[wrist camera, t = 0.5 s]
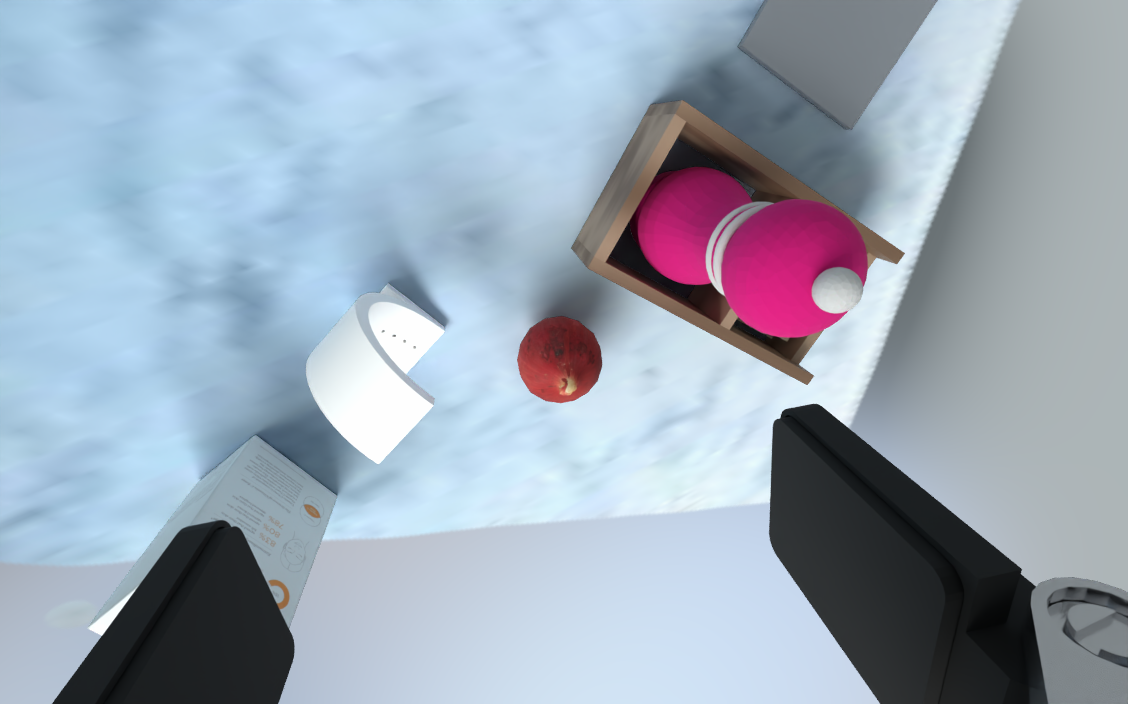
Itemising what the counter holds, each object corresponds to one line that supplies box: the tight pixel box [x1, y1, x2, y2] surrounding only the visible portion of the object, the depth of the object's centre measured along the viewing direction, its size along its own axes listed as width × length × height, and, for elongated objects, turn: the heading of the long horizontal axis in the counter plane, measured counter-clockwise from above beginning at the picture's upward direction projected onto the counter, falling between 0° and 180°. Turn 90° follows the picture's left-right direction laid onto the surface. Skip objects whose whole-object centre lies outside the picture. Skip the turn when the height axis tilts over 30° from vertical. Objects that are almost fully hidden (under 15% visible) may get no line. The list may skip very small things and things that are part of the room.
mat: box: [738, 0, 937, 130], centre depth 35 cm, size 10×10×1 cm
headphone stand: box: [306, 283, 445, 464], centre depth 33 cm, size 5×6×12 cm
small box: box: [88, 435, 337, 635], centre depth 36 cm, size 8×6×13 cm
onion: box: [517, 316, 602, 403], centre depth 37 cm, size 6×6×8 cm
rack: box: [571, 100, 905, 385], centre depth 37 cm, size 11×18×6 cm, turn 60°
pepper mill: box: [630, 167, 868, 338], centre depth 29 cm, size 7×7×20 cm
